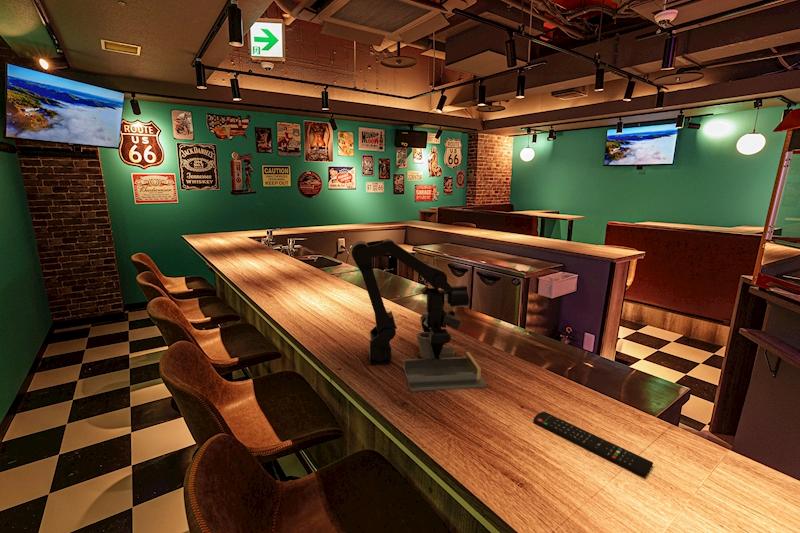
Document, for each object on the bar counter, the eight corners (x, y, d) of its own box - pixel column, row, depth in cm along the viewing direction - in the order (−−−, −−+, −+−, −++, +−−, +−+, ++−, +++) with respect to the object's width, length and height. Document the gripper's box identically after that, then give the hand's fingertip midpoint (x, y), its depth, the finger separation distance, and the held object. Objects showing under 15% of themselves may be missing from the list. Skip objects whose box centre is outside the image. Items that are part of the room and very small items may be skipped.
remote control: (644, 481, 73) (645, 475, 73) (530, 423, 90) (531, 418, 90) (652, 468, 77) (653, 462, 76) (541, 415, 94) (542, 410, 94)
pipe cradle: (410, 391, 103) (410, 374, 102) (403, 367, 117) (403, 352, 116) (486, 387, 106) (487, 370, 105) (471, 364, 119) (472, 349, 118)
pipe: (453, 364, 120) (454, 340, 118) (414, 360, 122) (414, 337, 120) (454, 356, 125) (455, 333, 124) (417, 352, 128) (417, 330, 126)
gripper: (468, 315, 112) (465, 363, 115) (452, 298, 130) (450, 340, 133) (432, 316, 111) (430, 365, 114) (420, 298, 129) (419, 341, 132)
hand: (433, 351), depth 123 cm, fingers open, 9 cm apart
